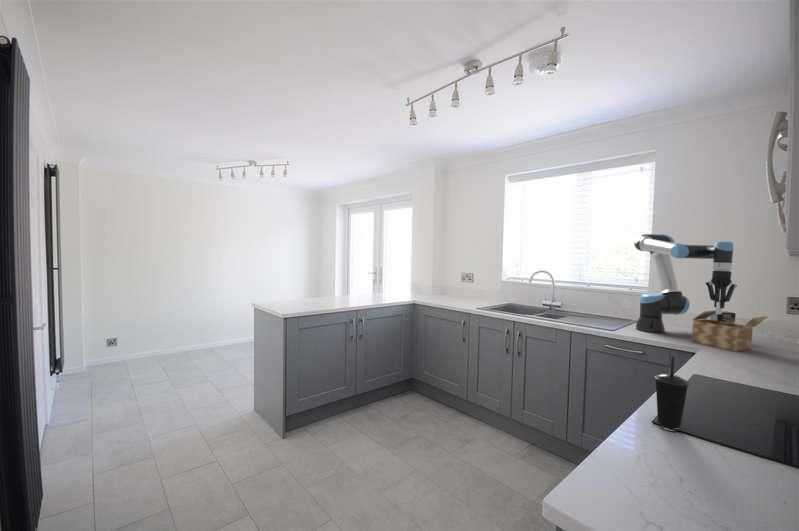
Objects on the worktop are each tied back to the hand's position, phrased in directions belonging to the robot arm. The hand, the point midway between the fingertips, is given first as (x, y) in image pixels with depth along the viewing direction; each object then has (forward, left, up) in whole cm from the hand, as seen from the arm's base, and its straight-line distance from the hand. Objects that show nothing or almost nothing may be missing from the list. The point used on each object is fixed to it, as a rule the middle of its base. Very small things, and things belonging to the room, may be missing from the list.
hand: (718, 313), depth 191 cm
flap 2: (+15, 0, -2) cm, 15 cm away
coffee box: (-6, +18, -17) cm, 26 cm away
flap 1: (-6, 0, -2) cm, 6 cm away
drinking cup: (+47, -126, -17) cm, 136 cm away
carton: (+2, 0, -17) cm, 17 cm away
